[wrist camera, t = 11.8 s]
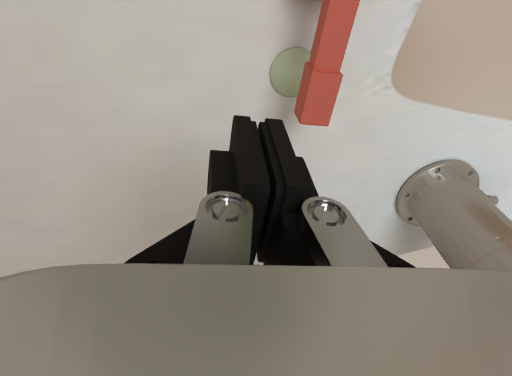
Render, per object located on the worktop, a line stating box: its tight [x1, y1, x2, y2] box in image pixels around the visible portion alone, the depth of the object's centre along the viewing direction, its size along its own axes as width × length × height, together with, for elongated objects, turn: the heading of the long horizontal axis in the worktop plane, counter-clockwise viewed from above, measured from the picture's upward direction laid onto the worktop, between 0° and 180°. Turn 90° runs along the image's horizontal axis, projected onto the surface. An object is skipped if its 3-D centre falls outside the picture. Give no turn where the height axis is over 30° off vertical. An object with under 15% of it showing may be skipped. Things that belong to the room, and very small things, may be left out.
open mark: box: [270, 48, 311, 97], centre depth 40 cm, size 6×6×1 cm
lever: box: [294, 0, 360, 126], centre depth 28 cm, size 18×4×3 cm, turn 172°
